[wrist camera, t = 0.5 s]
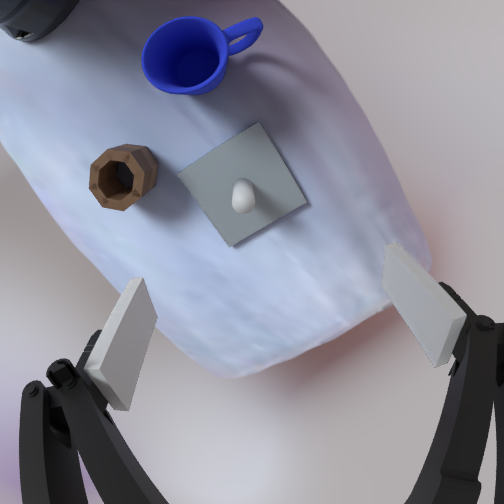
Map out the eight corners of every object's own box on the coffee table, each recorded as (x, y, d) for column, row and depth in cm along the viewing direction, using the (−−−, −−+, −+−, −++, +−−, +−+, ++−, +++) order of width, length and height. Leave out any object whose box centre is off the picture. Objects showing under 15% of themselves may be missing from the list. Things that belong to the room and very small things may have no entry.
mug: (271, 69, 30) (283, 52, 21) (184, 112, 32) (163, 110, 23) (241, 18, 27) (242, -13, 18) (155, 61, 29) (127, 44, 20)
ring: (100, 166, 34) (79, 175, 29) (138, 134, 33) (120, 138, 28) (128, 205, 37) (112, 220, 32) (167, 176, 36) (154, 187, 30)
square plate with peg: (178, 173, 36) (163, 187, 28) (258, 121, 33) (263, 122, 26) (229, 244, 40) (227, 273, 33) (305, 200, 38) (320, 220, 31)
